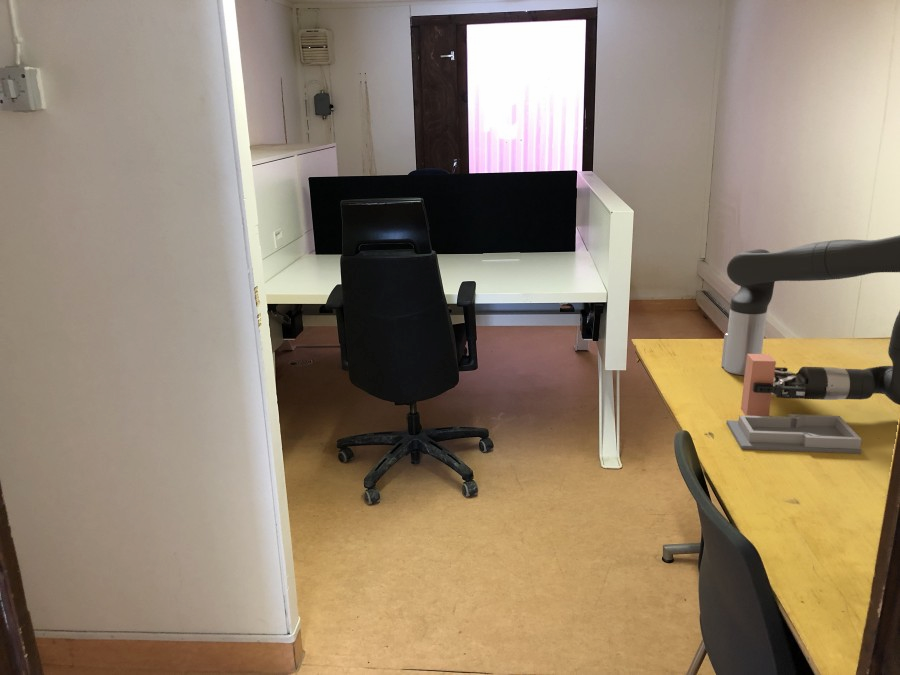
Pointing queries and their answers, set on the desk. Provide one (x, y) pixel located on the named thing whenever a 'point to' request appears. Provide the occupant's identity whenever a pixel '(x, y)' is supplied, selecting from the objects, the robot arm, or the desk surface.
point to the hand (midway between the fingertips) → (749, 381)
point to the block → (757, 371)
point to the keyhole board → (795, 433)
